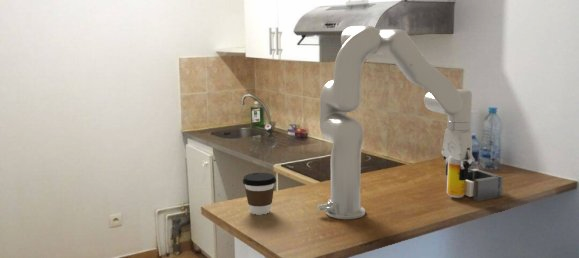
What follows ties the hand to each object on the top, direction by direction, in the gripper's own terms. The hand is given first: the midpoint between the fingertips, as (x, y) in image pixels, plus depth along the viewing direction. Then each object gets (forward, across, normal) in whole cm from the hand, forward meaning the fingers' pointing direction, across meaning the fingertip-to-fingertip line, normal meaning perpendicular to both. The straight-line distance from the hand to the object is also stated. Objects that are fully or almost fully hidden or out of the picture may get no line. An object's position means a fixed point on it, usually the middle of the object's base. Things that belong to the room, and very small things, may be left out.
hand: (456, 176), depth 191 cm
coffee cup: (+8, -18, -66) cm, 69 cm away
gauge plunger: (+7, -1, +6) cm, 9 cm away
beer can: (+7, 0, 0) cm, 7 cm away
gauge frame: (+7, 0, +9) cm, 12 cm away
